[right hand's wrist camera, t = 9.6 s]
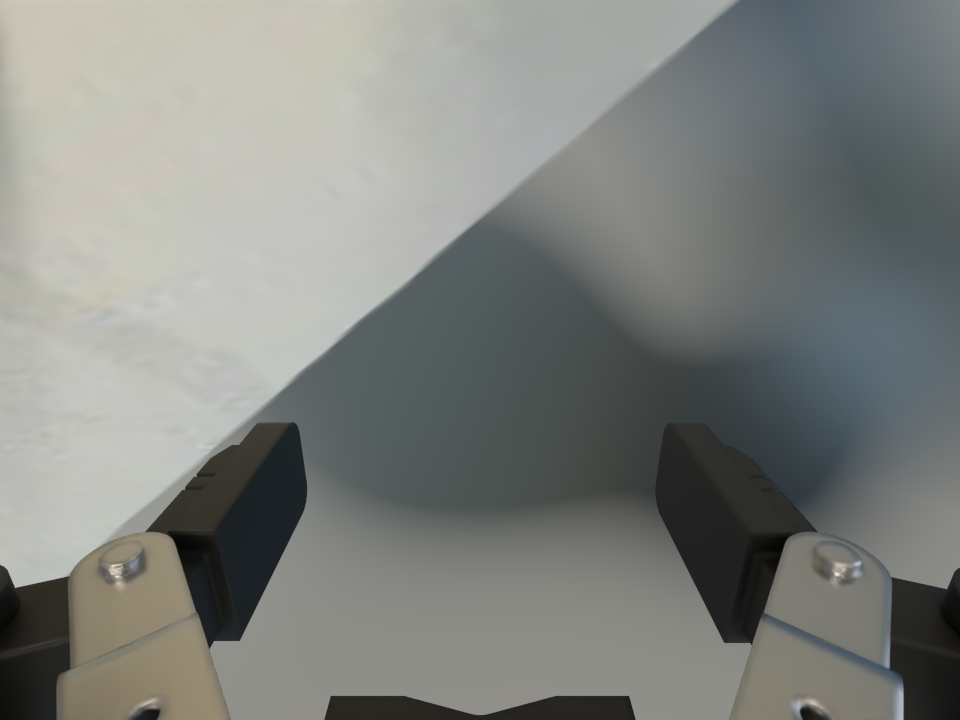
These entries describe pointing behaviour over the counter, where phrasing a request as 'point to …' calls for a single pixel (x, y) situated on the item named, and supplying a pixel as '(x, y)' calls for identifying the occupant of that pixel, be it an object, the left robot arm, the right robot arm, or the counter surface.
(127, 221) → the counter surface
